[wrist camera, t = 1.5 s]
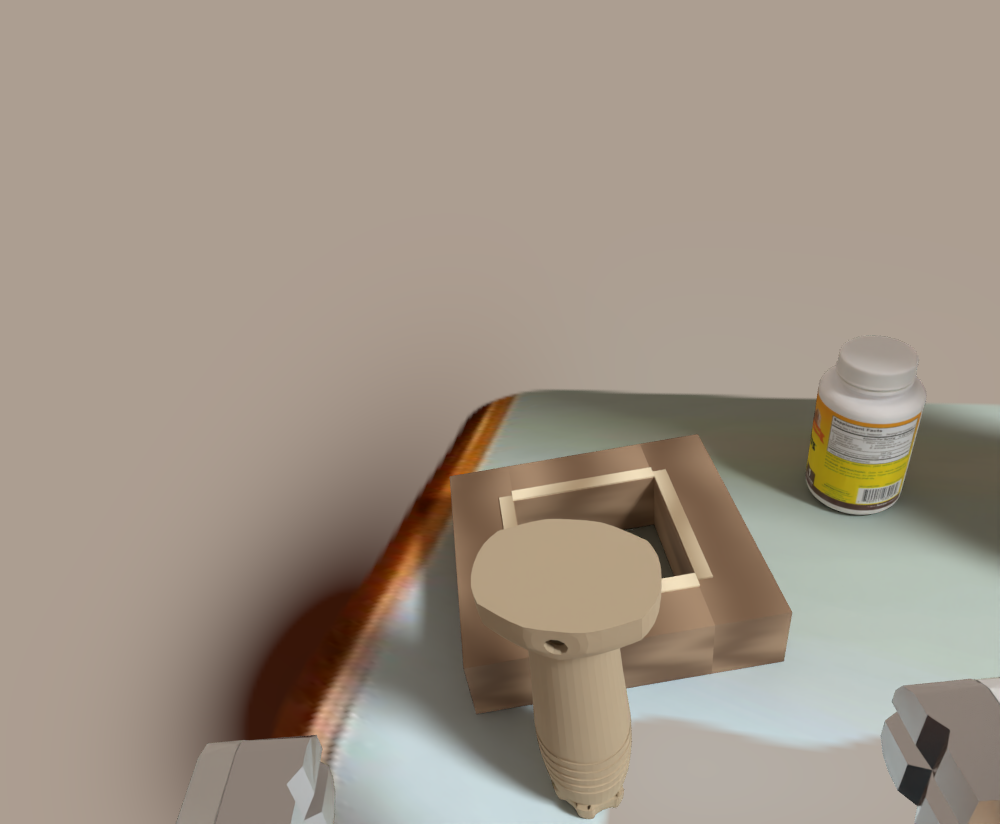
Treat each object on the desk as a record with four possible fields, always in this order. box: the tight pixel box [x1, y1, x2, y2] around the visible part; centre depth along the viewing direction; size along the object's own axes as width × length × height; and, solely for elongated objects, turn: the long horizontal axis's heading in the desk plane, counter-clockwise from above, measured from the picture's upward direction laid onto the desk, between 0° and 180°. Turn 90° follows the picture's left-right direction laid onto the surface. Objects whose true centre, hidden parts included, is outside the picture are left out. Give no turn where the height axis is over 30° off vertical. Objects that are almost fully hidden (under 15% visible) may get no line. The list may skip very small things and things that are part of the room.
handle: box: [471, 519, 662, 819], centre depth 29 cm, size 5×6×15 cm
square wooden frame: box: [450, 434, 792, 714], centre depth 41 cm, size 16×14×4 cm
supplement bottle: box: [806, 335, 926, 515], centre depth 43 cm, size 6×6×10 cm
